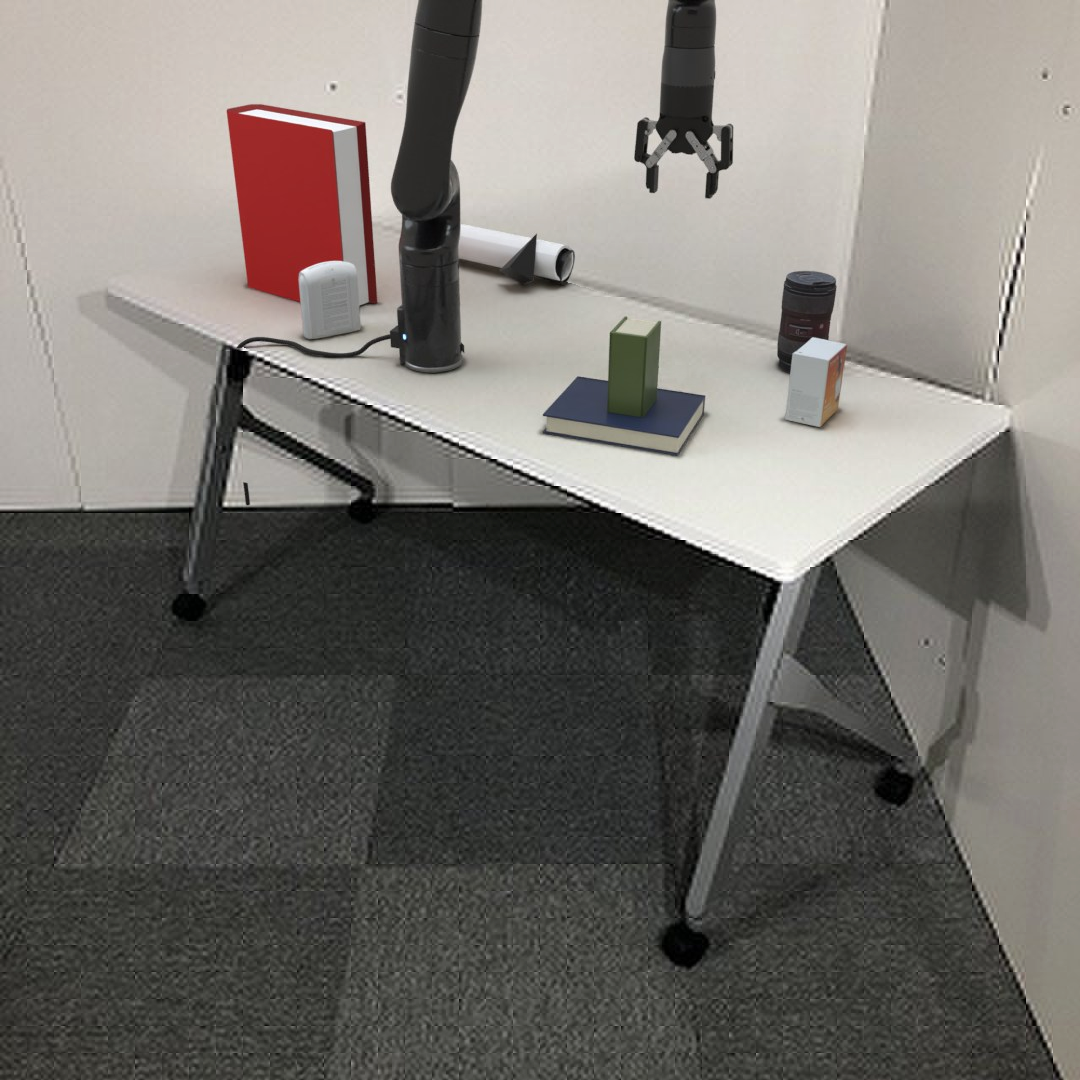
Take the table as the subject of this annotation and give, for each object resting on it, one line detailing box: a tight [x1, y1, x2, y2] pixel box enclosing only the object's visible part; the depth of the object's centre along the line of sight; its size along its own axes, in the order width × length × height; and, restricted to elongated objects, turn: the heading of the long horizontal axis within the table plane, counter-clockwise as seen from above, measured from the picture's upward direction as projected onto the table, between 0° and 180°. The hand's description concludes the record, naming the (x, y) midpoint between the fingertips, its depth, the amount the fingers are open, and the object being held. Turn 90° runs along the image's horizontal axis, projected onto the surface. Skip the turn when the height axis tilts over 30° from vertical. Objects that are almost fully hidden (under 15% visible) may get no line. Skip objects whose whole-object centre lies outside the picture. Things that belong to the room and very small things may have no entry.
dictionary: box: [607, 315, 662, 418], centre depth 170 cm, size 5×7×12 cm
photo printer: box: [299, 261, 362, 340], centre depth 203 cm, size 10×4×12 cm, turn 123°
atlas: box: [542, 375, 706, 457], centre depth 174 cm, size 20×15×3 cm
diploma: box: [458, 223, 576, 286], centre depth 233 cm, size 35×9×14 cm
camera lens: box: [776, 270, 838, 374], centre depth 190 cm, size 8×8×15 cm
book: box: [226, 103, 378, 306], centre depth 216 cm, size 27×8×32 cm, turn 54°
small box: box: [784, 337, 848, 428], centre depth 175 cm, size 8×6×10 cm
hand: (681, 194), depth 178 cm, fingers open, 8 cm apart
